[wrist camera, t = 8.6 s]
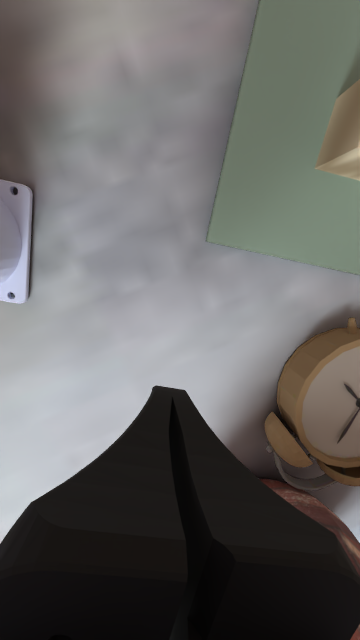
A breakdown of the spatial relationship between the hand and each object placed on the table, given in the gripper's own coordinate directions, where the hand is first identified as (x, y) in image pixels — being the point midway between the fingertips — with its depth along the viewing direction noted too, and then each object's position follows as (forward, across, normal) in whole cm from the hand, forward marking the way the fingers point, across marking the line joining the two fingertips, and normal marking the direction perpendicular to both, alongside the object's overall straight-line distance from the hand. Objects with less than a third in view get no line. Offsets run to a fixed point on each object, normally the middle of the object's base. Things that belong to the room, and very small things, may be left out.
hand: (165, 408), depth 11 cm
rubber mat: (+10, -12, -15) cm, 22 cm away
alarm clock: (+11, -16, +4) cm, 20 cm away
